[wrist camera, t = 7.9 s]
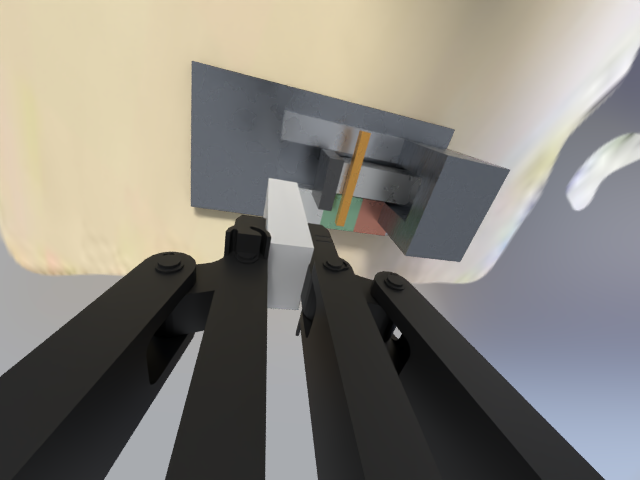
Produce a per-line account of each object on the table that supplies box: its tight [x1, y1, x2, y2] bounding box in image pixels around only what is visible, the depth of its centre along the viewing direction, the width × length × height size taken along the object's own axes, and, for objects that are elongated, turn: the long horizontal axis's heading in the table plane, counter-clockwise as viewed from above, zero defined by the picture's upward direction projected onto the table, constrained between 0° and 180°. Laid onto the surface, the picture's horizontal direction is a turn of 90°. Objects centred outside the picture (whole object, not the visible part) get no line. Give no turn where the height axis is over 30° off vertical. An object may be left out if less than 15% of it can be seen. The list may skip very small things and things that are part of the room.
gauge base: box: [191, 61, 510, 262], centre depth 25 cm, size 13×26×10 cm, turn 77°
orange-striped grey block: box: [312, 130, 422, 227], centre depth 26 cm, size 9×13×6 cm
